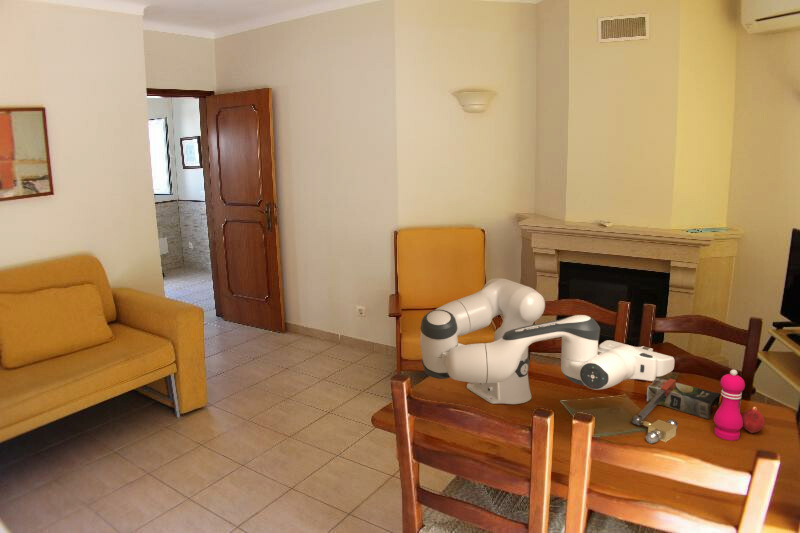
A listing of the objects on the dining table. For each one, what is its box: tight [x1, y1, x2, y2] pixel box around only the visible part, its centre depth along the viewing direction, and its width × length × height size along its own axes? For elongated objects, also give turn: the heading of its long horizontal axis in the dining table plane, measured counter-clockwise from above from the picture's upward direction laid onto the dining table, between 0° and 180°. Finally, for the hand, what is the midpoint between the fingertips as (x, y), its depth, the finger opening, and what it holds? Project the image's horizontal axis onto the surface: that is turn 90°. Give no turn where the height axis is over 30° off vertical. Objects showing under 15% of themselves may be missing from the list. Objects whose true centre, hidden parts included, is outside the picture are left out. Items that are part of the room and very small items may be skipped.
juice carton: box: [646, 377, 722, 420], centre depth 181 cm, size 20×10×6 cm, turn 46°
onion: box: [741, 406, 766, 434], centre depth 164 cm, size 6×6×8 cm
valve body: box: [640, 418, 679, 444], centre depth 165 cm, size 9×14×3 cm, turn 129°
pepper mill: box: [713, 369, 746, 442], centre depth 161 cm, size 7×7×20 cm
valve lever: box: [631, 378, 677, 427], centre depth 175 cm, size 2×2×23 cm
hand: (648, 349), depth 166 cm, fingers closed
